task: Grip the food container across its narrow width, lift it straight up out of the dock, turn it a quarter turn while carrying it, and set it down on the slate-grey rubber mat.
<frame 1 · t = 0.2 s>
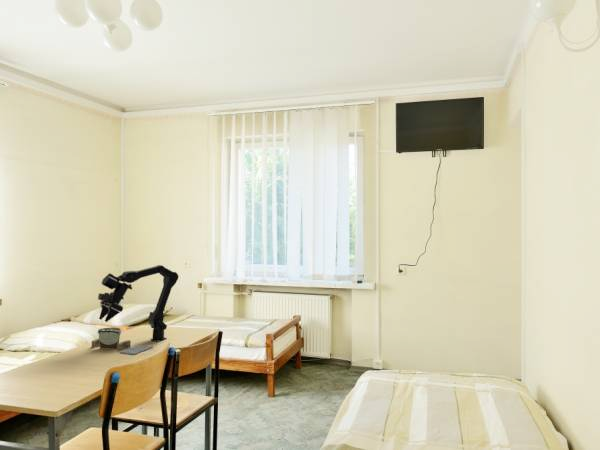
hand: (102, 320, 236), 15 cm above the table, tool tilted 30°, fingers open, 9 cm apart
dock: (111, 347, 239), on the table
mat: (136, 350, 234), on the table
food container: (111, 348, 239), resting in dock
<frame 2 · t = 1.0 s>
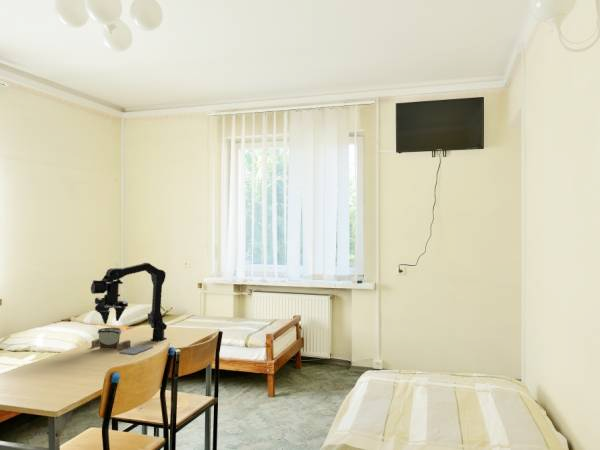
hand: (111, 322, 239), 13 cm above the table, tool pointing down, fingers open, 9 cm apart
nothing on the table moved.
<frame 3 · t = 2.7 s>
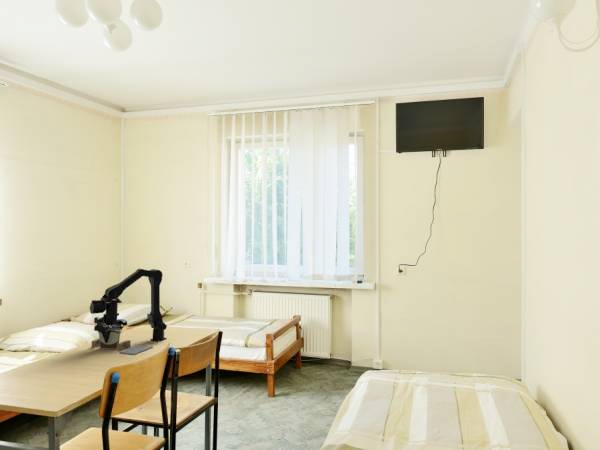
hand: (110, 341, 239), 3 cm above the table, tool pointing down, fingers closed on food container, 6 cm apart
food container: (111, 347, 239), resting in dock, touching gripper
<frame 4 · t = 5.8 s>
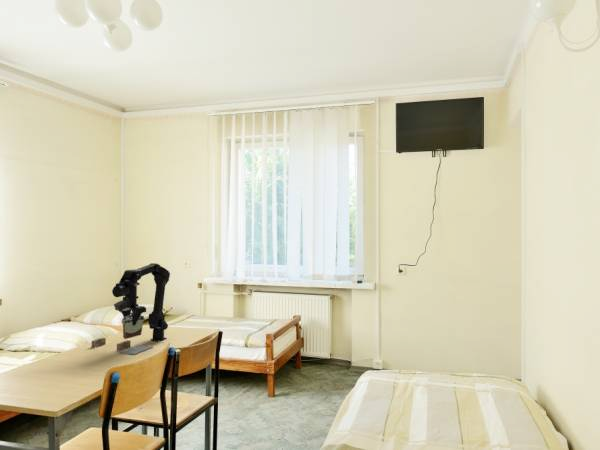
hand: (130, 324, 236), 13 cm above the table, tool pointing down, fingers closed on food container, 6 cm apart
food container: (129, 335, 237), point 7 cm above the table, touching gripper
when the fingers open (6 cm above the table, at t = 7.6 s): food container stays where it is, resting on mat.
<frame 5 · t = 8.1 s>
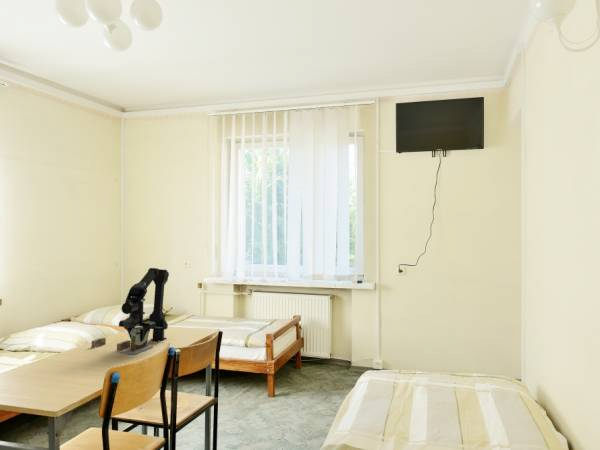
hand: (136, 340, 234), 5 cm above the table, tool pointing down, fingers open, 6 cm apart
food container: (135, 348, 236), point 1 cm above the table, touching gripper, mat
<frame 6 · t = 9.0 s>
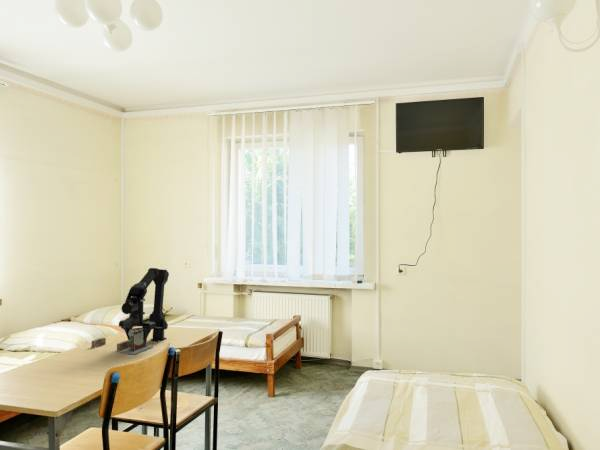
hand: (136, 341, 234), 5 cm above the table, tool pointing down, fingers open, 9 cm apart
food container: (135, 348, 236), resting on mat
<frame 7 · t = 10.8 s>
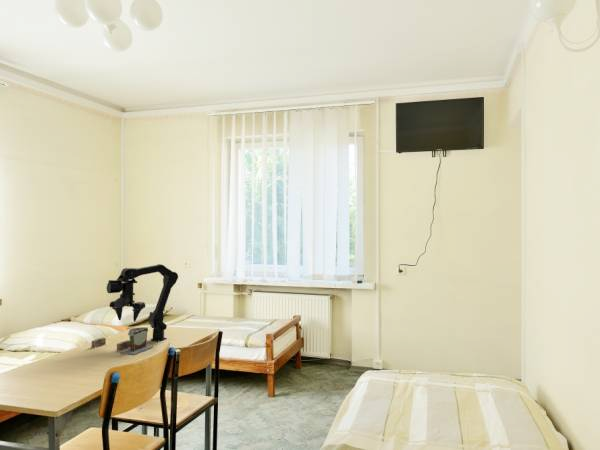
hand: (127, 320, 245), 13 cm above the table, tool pointing down, fingers open, 9 cm apart
nothing on the table moved.
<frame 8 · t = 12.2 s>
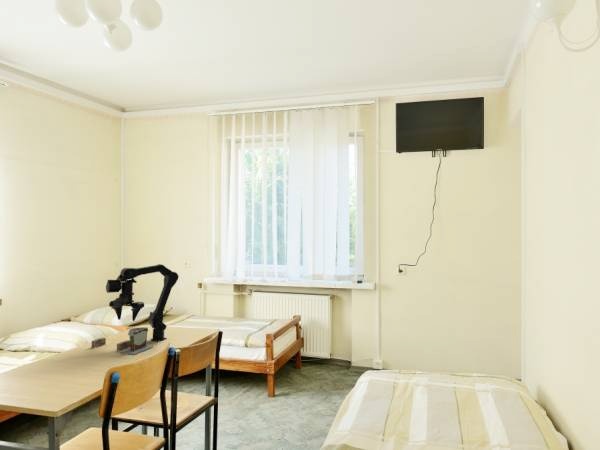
hand: (126, 320, 246), 13 cm above the table, tool pointing down, fingers open, 9 cm apart
nothing on the table moved.
at the end: food container 1.6 cm off-centre on the mat, point 0.4 cm above the mat's base; food container tilted 0°; the gripper is holding nothing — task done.
